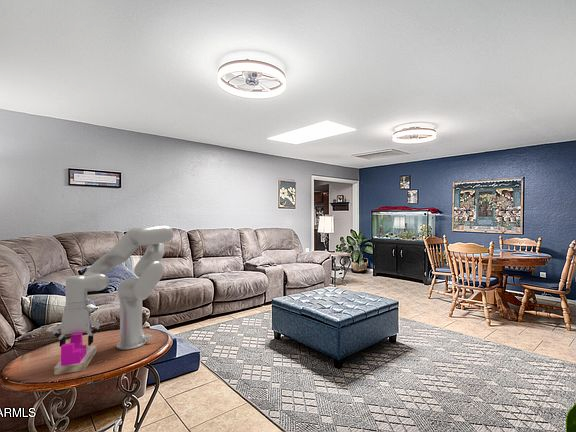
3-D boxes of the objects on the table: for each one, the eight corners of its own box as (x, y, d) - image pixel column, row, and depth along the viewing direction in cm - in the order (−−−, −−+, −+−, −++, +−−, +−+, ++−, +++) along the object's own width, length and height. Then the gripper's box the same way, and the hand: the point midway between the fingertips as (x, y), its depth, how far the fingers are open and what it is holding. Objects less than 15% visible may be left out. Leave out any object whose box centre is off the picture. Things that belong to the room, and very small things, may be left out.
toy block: (79, 363, 124) (79, 344, 124) (60, 366, 121) (60, 346, 122) (89, 349, 138) (89, 332, 138) (72, 351, 135) (72, 334, 136)
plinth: (96, 352, 142) (96, 345, 142) (84, 370, 124) (84, 362, 124) (70, 355, 138) (70, 348, 138) (54, 375, 120) (54, 367, 120)
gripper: (102, 301, 138) (102, 340, 138) (55, 305, 132) (55, 346, 132) (97, 305, 131) (98, 346, 131) (48, 309, 125) (48, 353, 125)
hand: (76, 346), depth 131 cm, fingers open, 9 cm apart
